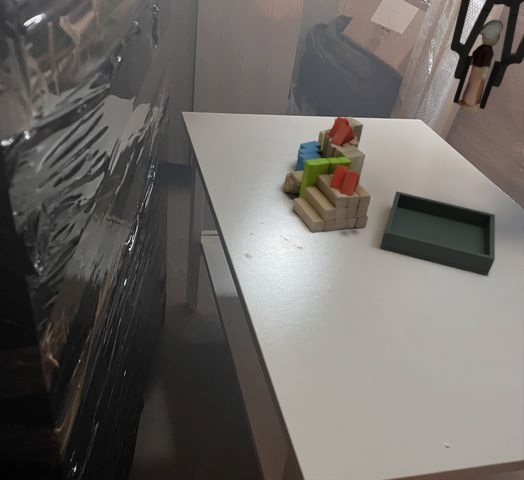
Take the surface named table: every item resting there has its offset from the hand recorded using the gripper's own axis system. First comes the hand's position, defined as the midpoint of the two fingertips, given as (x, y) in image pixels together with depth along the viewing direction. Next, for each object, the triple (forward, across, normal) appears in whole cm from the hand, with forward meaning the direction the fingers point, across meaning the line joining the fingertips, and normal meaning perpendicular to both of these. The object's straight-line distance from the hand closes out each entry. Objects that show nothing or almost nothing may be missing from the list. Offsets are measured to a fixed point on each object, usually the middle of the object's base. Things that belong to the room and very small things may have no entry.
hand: (469, 102), depth 94 cm
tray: (+20, +2, -10) cm, 22 cm away
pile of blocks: (+20, -21, -1) cm, 29 cm away
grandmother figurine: (+1, 0, 0) cm, 1 cm away
